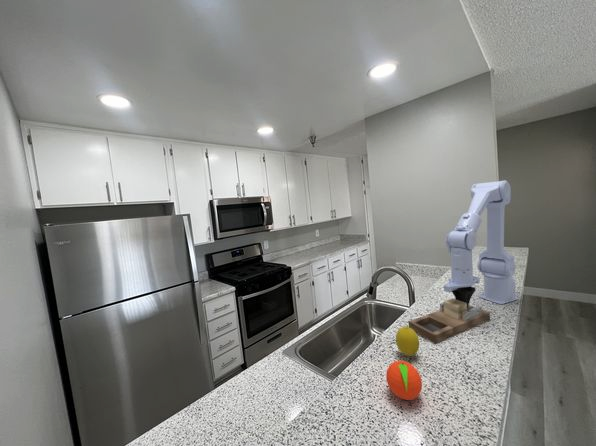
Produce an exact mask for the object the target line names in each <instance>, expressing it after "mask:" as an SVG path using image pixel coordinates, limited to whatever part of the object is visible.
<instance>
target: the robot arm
mask: <svg viewBox="0 0 596 446" xmlns="http://www.w3.org/2000/svg"><path fill="white" fill-rule="evenodd" d="M511 189H512V188H511V185H510V183H509V182H508V181H507V180H505V179H504V180H500V181H499V180H498V181H491V182H490V181H488V182H481V183H474V184H472V186H471V188H470V197H471V202H470V205H469V208H468V209H467V212H465V213H463V214H462V215H461V217H460V218H459V220H458V222H457V224H456V226H455V228H454V229H453V230H452V231H450V232H448V233H447V235H446V239H445V243H446V247H447V248H448V253H449V254H450V271H451V272H450V274H451V276H450V277H449V278H448V282H447V283H445V284H443V291H444V292H447V293H452V294H453V296H454V299H456V300H459V301H462V302H465V303H467V309H468V306H469V305H470V302H471V299H472V297H473V295H474V294H475V292H476V288H475V287H474V286H475V284H480V279H481V278H480V277H479V276H475V275H474V273H473V272H474V270H473V269H474V265H473V249H474V248H475V247H476V244H477V238H478V235H477V232H478V230H479V229H480V226H481V223H482V221H483V220H482V217H481V215H482V214H483V212H484V211H485V209H486V210H487V211H486V249H485V250H484V251H481V252H480V253H479V255H478V259H477V264H476V265H477V269H478V271H479V273H481V275H482V276H483V294H480V295H478V298H481V299H483V300H487V301H490V302H493V303H494V304H495V303H496V304H498V305H504V304H507V303H511V302H514V301H518V300H519V297H517V296H516V281H515V279H514V277H513V276H514V275H515V272H516V263H515V257H514V256H513V255H512V254H510V253H509V252H508V251H506V250H505V211H506V210H505V207H506V205H508V204H511V199H512V196H511V195H512V191H511Z"/></svg>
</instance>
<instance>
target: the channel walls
mask: <svg viewBox="0 0 596 446" xmlns="http://www.w3.org/2000/svg"><path fill="white" fill-rule="evenodd" d="M474 307H475V308H472V309H470V310H467V311H465V312H462V318H463V321H467V320H470V319H472V318H475V317H477V316H479V315H481V309H482V307H481V306H479V305H478V306H474ZM439 310H440V311H441V312H444V305H443V302H441V303H439Z"/></svg>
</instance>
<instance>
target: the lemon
mask: <svg viewBox="0 0 596 446" xmlns="http://www.w3.org/2000/svg"><path fill="white" fill-rule="evenodd" d="M395 335H396V336H395V343H396V346H397V348H398V351H400V352H401V353H402V354H403V355H405V356H407V357H411V356H414V355H416V354H417V352H419V349H420V339H419V337H418V336H419V335H418V334H417V333H416V332H415V331H414V330H413V329H411V328H409V326H402V327H400V328H398V330H397V332H396V334H395Z"/></svg>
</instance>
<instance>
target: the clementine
mask: <svg viewBox="0 0 596 446" xmlns="http://www.w3.org/2000/svg"><path fill="white" fill-rule="evenodd" d="M385 376H386V377H385V378H386V382H387V386H388V388H389V389H390V391H391V392H392V393H393V394H394V395H395V396H396V397H397V398H399V399H402V400H404V401H411V400H414V399H416V398H418V397H419V395H420V393H421V392H422V389H423V382H422V377H421V375H420V373H419V371H418V369H416V368H415V367H414V365H412V364H411V363H409V362H408V361H404V360H396V361H394V362H392V363H391V364H389V366H388V367H387V370H386V375H385Z"/></svg>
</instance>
